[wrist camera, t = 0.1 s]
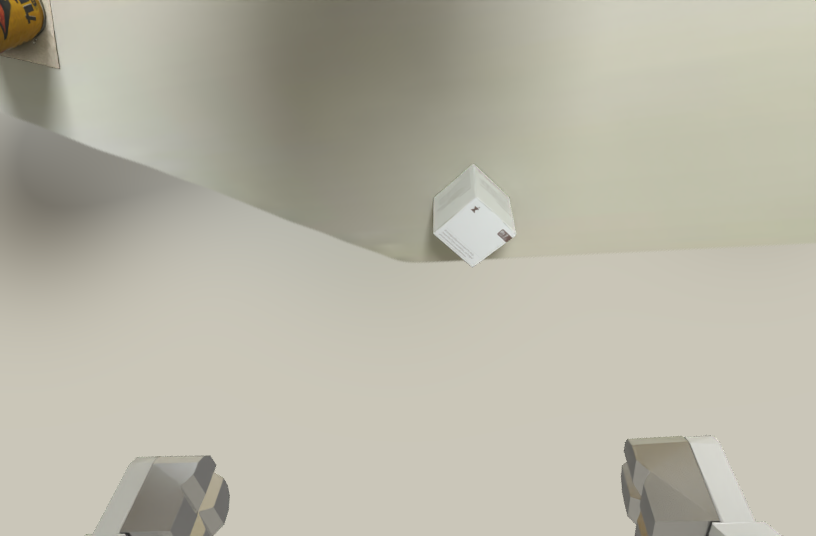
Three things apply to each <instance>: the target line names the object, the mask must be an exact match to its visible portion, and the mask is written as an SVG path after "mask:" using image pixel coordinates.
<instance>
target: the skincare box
mask: <svg viewBox="0 0 816 536" xmlns="http://www.w3.org/2000/svg"><path fill="white" fill-rule="evenodd" d="M433 234H434V235H435V236H436V237H437V238H439V239H440V240H441V241H442V242H443V243H444V244H445V245H447V246H448V247H449V248H450V249H451V250H452V251H454V252H455V253H456V254H457V255H458V256H459V257H461V258H462V259H463V260H464V261H465V262H466V263H468V264H469V265H470V266H471V267H474V266H476V265H477V264H478V263H480V262H481V261H482V260H484V259H485V258H486V257H488V256H489V255H490V254H492V253H493V252H494V251H496V250H497V249H498V248H500V247H501V246H502V245H504V244H505V243H506V242H508V241H509V240H510V239H512V238H513V237H515V236H516V230H515V225H514V220H513V215H512V209H511V204H510V198H509V197H508V196H507V195H506V194H505V193H504V192H503V191H502V190H501V189H500V188H499V187H498V186H497V185H496V184H495V183H494V182H493V181H492V180H491V179H490V178H489V177H487V176H486V175H485V174H484V173H483V172H482V171H481V170H480V169H479V168H478V167H477V166H476V165H475V164H472V165H471V166H469V167H468V168H467V169H466V170H465V171H464V172H463V173H462V174H460V175H459V176H458V177H457V178H456V179H455V180H453V181H452V182H451V183H450V184H449V185H448V186H447V187H445V188H444V189H443V190H442V191H441V192H440V193H439V194H437V195H436V196H435V197H434V199H433Z"/></svg>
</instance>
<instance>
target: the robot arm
mask: <svg viewBox="0 0 816 536" xmlns="http://www.w3.org/2000/svg"><path fill="white" fill-rule="evenodd" d="M624 453H625V457H626V460H627V462H626V463H625V464H623V465H622V473H621V482H622V493H623V498H624V504H625V508H626V512H627V516H628V517H629V518H630V519H631V520H632V521H633V522H634V523H635V524H636V530H635V536H782V535H781V534H780V533H778V532H777V531H776V530H775V529H774V528H772V527H771V526H770V525H769V524H768V523H766V522H756V520H755V518H754V516H753V514H752V512H751V509H750V507H749V505H748V503H747V501H746V498H745V496H744V494H743V492H742V490H741V488H740V486H739V483H738V481H737V479H736V477H735V475H734V472H733V470H732V468H731V466H730V464H729V461H728V459H727V457H726V455H725V453H724V451H723V448H722V446H721V444H720V442H719V441H718V440H717V439H716V438H715V436H711V435H710V436H694V437H682V436H675V437H657V438H656V437H655V438H637V439H627V440H626V442H625V447H624ZM215 467H216V464H215V462H214V461H213V459H212V458H211V456H167V457H166V456H165V457H162V456H156V457H137V458H136V459H135V460H134V461H132V462H131V463H130V465H129V466H128V468H127V470H126V472H125V474H124V476H123V477H122V479H121V481H120V483H119V485H118V487H117V489H116V491H115V493H114V495H113V497H112V498H111V500H110V502H109V504H108V506H107V508H106V510H105V512H104V514H103V515H102V517H101V519H100V521H99V523H98V525H97V527H96V529H95V531H94V533H93V534H86V535H85V536H213V535H214V534H215V533H216V532H217V531H218V530H219V529H220V528H221V527H222V526H223V525H224V523H225V520H226V517H227V513H228V510H229V498H230V497H229V496H230V495H229V490H228V485H227V484H226V481H225V480H224V478H223V477H221V476H219V475H217V474H216V473H214V470H215Z"/></svg>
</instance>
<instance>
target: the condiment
mask: <svg viewBox="0 0 816 536" xmlns="http://www.w3.org/2000/svg"><path fill="white" fill-rule="evenodd" d="M35 39H37V40H35ZM34 41H35V44H33V42H34ZM0 55H1V56H5V57H10V58H16V59H20V60H24V61H30V62H33V63H37V64H41V65H46V66H50V67H54V68H58V69H60V68H59V63H58V55H57V51H56V43H55V38H54V28H53V20H52V13H51V6H50V0H0Z"/></svg>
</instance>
